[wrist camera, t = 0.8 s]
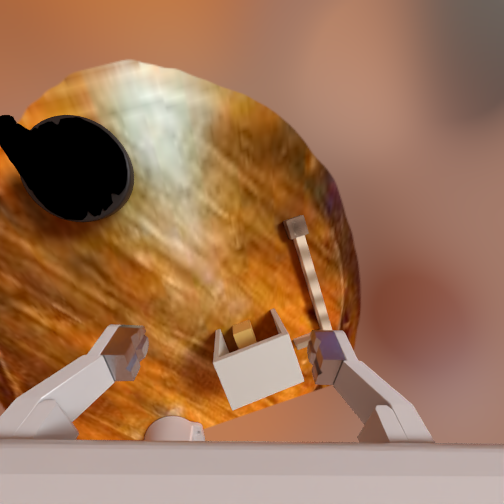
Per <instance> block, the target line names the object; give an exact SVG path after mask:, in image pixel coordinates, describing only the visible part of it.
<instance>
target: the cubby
mask: <svg viewBox="0 0 504 504" xmlns="http://www.w3.org/2000/svg"><path fill="white" fill-rule="evenodd" d="M271 313H272V316H273V319H274V322H275V325H276V328H277V331H278V335H275V336H273V337H270V338H268V339H265V340H262V341H260V342H257V343H255V344H252V345H249V346H247V347H244V348H242V349H239V350H237V351H234V352H231V353H229V350H228V348H227V345H226V343H225V340H224V338H223V335H222V333H221V330H220V329H218V330H216V335H215V346H214V357H213V364H214V367H215V369H216V372H217V374H218V376H219V379H220V381H221V384H222V386H223V389H224V391H225V393H226V396H227V398H228V401H229V403H230V405H231V408H232V410H235V409H237V408H240V407H242V406H245V405H247V404H250V403H252V402H254V401H257V400H259V399H262V398H264V397H267V396H269V395H272V394H274V393H277V392H279V391H282V390H284V389H286V388H289V387H291V386H294V385H296V384H299V383H301V382H304V378H303V375H302V372H301V369H300V366H299V364H298V361H297V358H296V355H295V352H294V349H293V346H292V343H291V340H290V337H289V334H288V332H287V330H286V328H285V327H284V325H283V323H282V321H281V320H280V318H279V316H278V314H277V312H276V311H275V309H271Z"/></svg>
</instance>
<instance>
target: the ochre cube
mask: <svg viewBox="0 0 504 504" xmlns="http://www.w3.org/2000/svg"><path fill="white" fill-rule="evenodd" d="M233 336H234V338H235V341H236V344H237V346H238V349H242V348H244V347H247V346H249V345H252V344H255V343H257V341H256V337H255V334H254V331H253V328H252V326H251V323H250V320H247V321H244V322H241V323H239V324H236V325H234V326H233Z"/></svg>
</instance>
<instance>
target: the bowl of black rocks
mask: <svg viewBox="0 0 504 504" xmlns="http://www.w3.org/2000/svg"><path fill="white" fill-rule="evenodd" d="M0 146H1V147H2V149H3V150H4V152H5V153H6V155H7V156H8V158H9V160H10V161H11V162H12V163H13V165H14V166H15V168H16V169H17V171H18V172H19V174H20V177H21V180H22V182H23V185H24V187H25V189H26V190H27V192H28V193H29V195H30V196H31V197H32V199H33V200H34V201H35V202H36V203H37V204H38V205H39V206H40V207H42V208H43V209H44V210H46V211H47V212H49V213H51V214H53V215H55V216H57V217H59V218H62V219H65V220H69V221H75V222H90V221H96V220H100V219H103V218H106V217H108V216H110V215H112V214H114V213H116V212H117V211H118V210H120V209H121V208H122V207H123V206H124V204H125V203H126V202H127V201H128V199H129V197H130V195H131V193H132V190H133V185H134V172H133V167H132V163H131V160H130V158H129V156H128V154H127V152H126V150H125V148H124V147H123V145H122V144H121V143H120V142H119V140H118V139H117V138H116V137H115V136H114V135H113V134H112V133H111V132H110V131H109V130H107V129H106V128H105V127H103V126H102V125H100V124H98V123H96V122H94V121H92V120H90V119H87V118H84V117H80V116H74V115H61V116H55V117H51V118H48V119H46V120H43V121H41V122H40V123H38V124H37V125H35V126H34V127H33V128H32V129H31V130H28V129H26V128H25V127H23V126H22V125H20V124H17V122H16V121H15V120H14V118H13V117H12V116H10V115H2V116H0Z"/></svg>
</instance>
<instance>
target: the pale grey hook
mask: <svg viewBox="0 0 504 504" xmlns="http://www.w3.org/2000/svg"><path fill="white" fill-rule="evenodd" d="M283 223H284V226H285V229H286V232H287V236H288V239H293V241H294V244H295V247H296V251H297V254H298V257H299V260H300V264H301V267H302V270H303V274H304V277H305V280H306V284H307V287H308V290H309V294H310V297H311V300H312V304H313V307H314V310H315V313H316V317H317V320H318V323H319V327H320V329H319V330H332V328H331V324H330V321H329V317H328V314H327V311H326V307H325V304H324V300H323V297H322V293H321V290H320V287H319V283H318V280H317V276H316V273H315V269H314V266H313V263H312V259H311V256H310V252H309V249H308V245H307V242H306V239H305V235H306V234H309V233H308V229H307V226H306V222H305V219H304V215H299V216H297V217H294V218H291V219H288V220H285V221H283ZM310 334H311V333H308V334H306V335H303V336H301V337H298V338H295V339H293V340H294V343H295V345H296V347H297V349H298V350H299V349H302V348H304V347H307V346H308V341H310V340H311V337H310Z"/></svg>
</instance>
